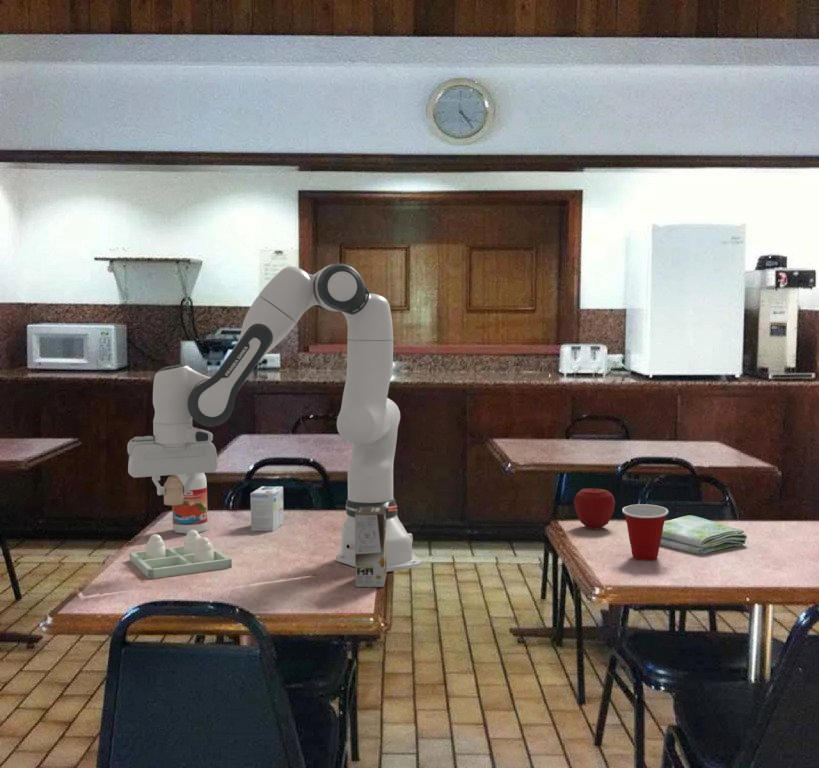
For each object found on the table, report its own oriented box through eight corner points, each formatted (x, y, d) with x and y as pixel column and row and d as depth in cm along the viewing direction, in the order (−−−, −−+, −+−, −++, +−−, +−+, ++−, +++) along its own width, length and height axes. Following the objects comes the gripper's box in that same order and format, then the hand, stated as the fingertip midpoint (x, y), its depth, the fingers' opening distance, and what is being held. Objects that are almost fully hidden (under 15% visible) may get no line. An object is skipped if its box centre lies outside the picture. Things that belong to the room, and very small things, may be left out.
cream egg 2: (204, 558, 228) (204, 530, 227) (186, 560, 226) (186, 532, 225) (199, 554, 232) (199, 527, 231) (181, 556, 230) (181, 529, 229)
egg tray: (231, 569, 219) (231, 559, 219) (149, 581, 210) (149, 570, 210) (207, 552, 235) (207, 542, 235) (130, 562, 226) (129, 552, 226)
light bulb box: (261, 522, 270) (260, 485, 270) (284, 523, 270) (283, 486, 269) (250, 531, 260) (249, 492, 259) (273, 531, 259) (273, 492, 258)
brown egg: (185, 504, 219) (185, 475, 218) (166, 505, 217) (166, 477, 216) (180, 501, 223) (180, 472, 222) (162, 502, 221) (161, 474, 220)
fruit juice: (210, 526, 266) (207, 427, 264) (205, 533, 257) (202, 431, 255) (176, 527, 266) (173, 428, 264) (170, 534, 256) (167, 432, 254)
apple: (621, 527, 260) (621, 485, 260) (602, 534, 252) (602, 490, 252) (586, 521, 268) (587, 481, 267) (566, 528, 260) (566, 486, 259)
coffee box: (384, 587, 203) (383, 514, 202) (355, 587, 203) (354, 514, 202) (387, 576, 212) (386, 505, 211) (358, 576, 213) (357, 505, 212)
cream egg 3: (216, 566, 220) (215, 538, 220) (197, 568, 218) (197, 540, 217) (210, 562, 224) (210, 534, 223) (192, 564, 222) (191, 536, 221)
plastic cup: (618, 561, 223) (619, 511, 223) (624, 550, 234) (625, 503, 233) (666, 565, 220) (666, 514, 219) (669, 554, 230) (670, 505, 229)
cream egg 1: (167, 562, 223) (167, 535, 223) (149, 565, 221) (148, 537, 221) (163, 558, 227) (162, 531, 227) (144, 561, 225) (143, 533, 225)
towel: (701, 557, 229) (701, 536, 228) (636, 540, 246) (636, 521, 246) (750, 547, 238) (750, 527, 238) (684, 531, 256) (684, 513, 256)
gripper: (130, 438, 211) (131, 499, 212) (219, 433, 220) (219, 492, 221) (124, 435, 216) (125, 495, 217) (211, 430, 226) (212, 488, 227)
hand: (173, 493), depth 219 cm, fingers closed on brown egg, 4 cm apart
